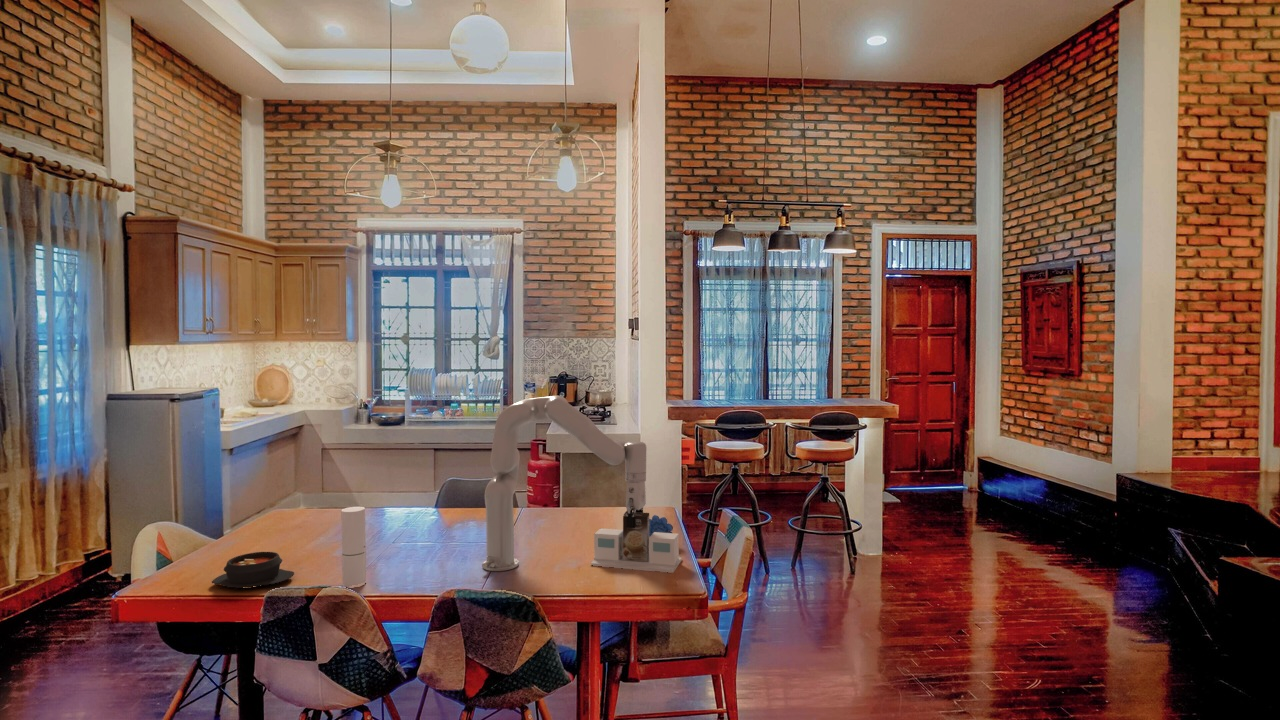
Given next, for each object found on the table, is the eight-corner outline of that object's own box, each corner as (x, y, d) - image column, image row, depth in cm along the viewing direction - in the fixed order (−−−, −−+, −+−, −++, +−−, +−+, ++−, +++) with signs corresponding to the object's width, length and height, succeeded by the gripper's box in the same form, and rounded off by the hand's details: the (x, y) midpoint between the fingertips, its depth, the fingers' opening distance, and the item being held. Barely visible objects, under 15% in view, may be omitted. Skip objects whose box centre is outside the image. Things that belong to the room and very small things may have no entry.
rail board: (673, 573, 229) (672, 542, 228) (590, 565, 237) (590, 536, 237) (681, 560, 242) (681, 531, 242) (603, 553, 250) (603, 525, 250)
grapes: (644, 549, 255) (644, 518, 255) (643, 544, 262) (643, 513, 262) (674, 548, 256) (674, 517, 255) (673, 543, 262) (673, 513, 262)
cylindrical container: (369, 580, 224) (368, 506, 223) (361, 588, 217) (360, 511, 216) (347, 581, 224) (346, 506, 223) (339, 588, 216) (337, 512, 216)
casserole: (305, 573, 231) (305, 549, 231) (274, 593, 213) (273, 567, 213) (235, 573, 232) (234, 549, 232) (197, 593, 214) (197, 567, 214)
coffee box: (622, 561, 237) (621, 516, 237) (624, 555, 243) (624, 511, 243) (647, 561, 236) (647, 516, 235) (650, 556, 242) (649, 512, 242)
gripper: (638, 481, 229) (638, 531, 230) (651, 472, 246) (651, 519, 246) (618, 480, 231) (617, 529, 232) (632, 471, 248) (631, 517, 248)
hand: (634, 524), depth 239 cm, fingers open, 9 cm apart
